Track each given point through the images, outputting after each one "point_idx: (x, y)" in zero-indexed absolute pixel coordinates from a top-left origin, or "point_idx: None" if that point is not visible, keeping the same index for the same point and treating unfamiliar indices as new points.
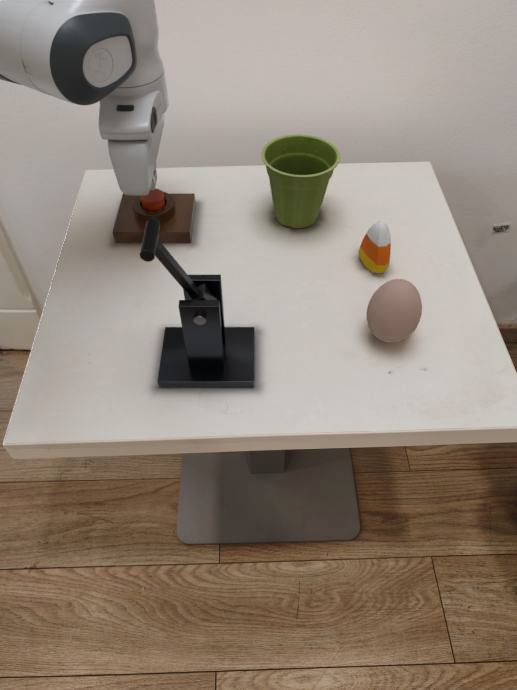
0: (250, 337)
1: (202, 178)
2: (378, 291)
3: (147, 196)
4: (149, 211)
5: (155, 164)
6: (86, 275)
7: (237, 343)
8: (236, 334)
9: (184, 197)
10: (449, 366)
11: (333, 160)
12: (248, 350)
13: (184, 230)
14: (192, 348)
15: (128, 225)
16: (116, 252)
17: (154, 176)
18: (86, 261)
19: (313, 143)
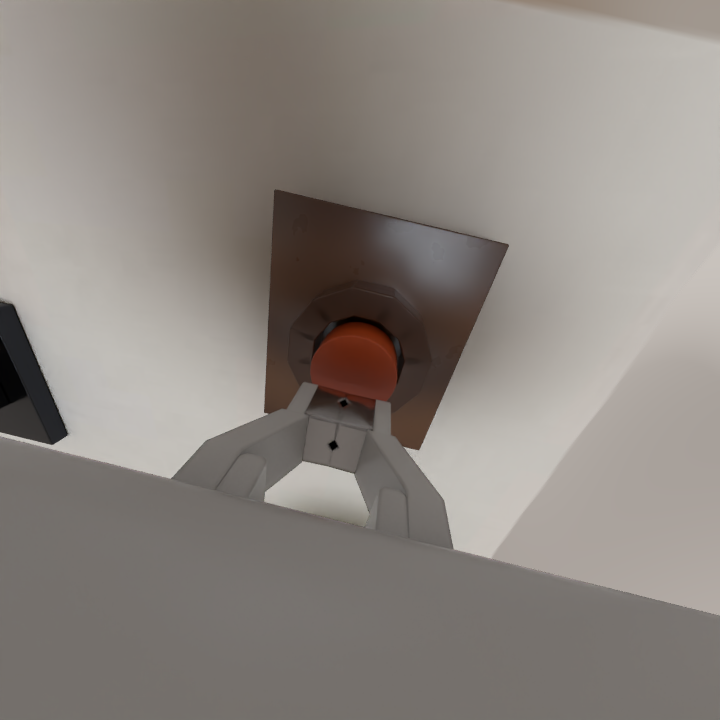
0: (29, 435)
1: (518, 458)
2: None
3: (346, 361)
4: (310, 343)
5: (367, 506)
6: (137, 75)
7: (8, 417)
8: (26, 420)
9: (408, 427)
10: None
11: None
12: (2, 427)
13: (269, 403)
14: None
15: (304, 254)
16: (249, 197)
17: (312, 462)
18: (204, 71)
19: None
